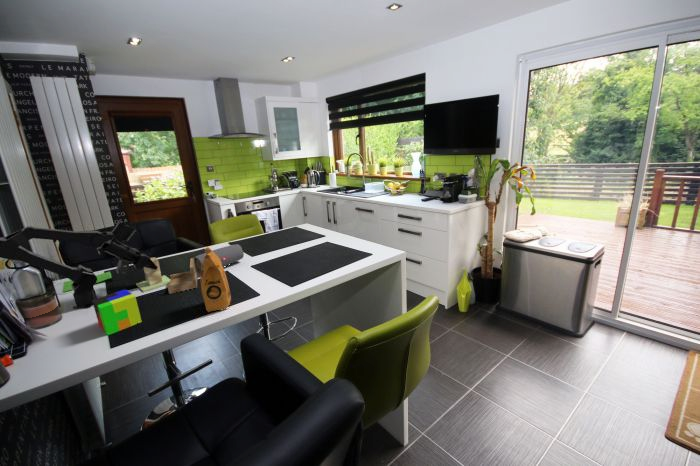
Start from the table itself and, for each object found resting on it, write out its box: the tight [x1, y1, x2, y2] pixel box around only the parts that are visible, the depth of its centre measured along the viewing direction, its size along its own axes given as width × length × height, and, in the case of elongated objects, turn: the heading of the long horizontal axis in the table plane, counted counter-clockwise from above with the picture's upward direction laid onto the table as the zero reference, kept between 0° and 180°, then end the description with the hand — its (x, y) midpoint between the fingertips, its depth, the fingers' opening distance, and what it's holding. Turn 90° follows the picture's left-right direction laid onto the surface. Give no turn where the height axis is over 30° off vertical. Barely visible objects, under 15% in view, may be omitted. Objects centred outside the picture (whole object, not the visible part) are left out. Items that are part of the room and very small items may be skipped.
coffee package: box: [200, 246, 232, 313], centre depth 118 cm, size 10×12×22 cm
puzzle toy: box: [92, 289, 143, 336], centre depth 110 cm, size 10×10×10 cm
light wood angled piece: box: [166, 257, 198, 295], centre depth 139 cm, size 11×13×10 cm
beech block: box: [143, 256, 162, 286], centre depth 142 cm, size 5×5×11 cm
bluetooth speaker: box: [193, 243, 245, 274], centre depth 159 cm, size 23×9×10 cm, turn 143°
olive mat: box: [135, 274, 171, 293], centre depth 144 cm, size 12×12×1 cm
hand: (154, 267), depth 143 cm, fingers open, 6 cm apart
